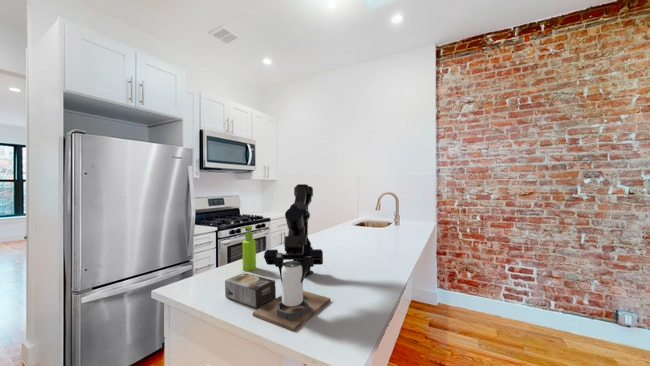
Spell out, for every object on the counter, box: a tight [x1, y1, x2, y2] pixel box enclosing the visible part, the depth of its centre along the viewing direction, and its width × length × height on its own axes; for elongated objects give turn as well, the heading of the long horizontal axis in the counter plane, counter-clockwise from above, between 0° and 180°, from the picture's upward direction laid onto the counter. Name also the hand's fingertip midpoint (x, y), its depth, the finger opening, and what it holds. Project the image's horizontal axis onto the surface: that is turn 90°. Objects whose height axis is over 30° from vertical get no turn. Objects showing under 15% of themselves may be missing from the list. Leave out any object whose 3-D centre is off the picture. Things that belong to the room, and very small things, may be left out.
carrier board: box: [252, 290, 331, 332], centre depth 82 cm, size 20×16×3 cm
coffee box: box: [224, 272, 277, 309], centre depth 90 cm, size 9×6×16 cm
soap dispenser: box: [239, 225, 257, 272], centre depth 119 cm, size 6×7×20 cm
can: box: [281, 260, 304, 307], centre depth 79 cm, size 6×6×12 cm
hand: (291, 282), depth 77 cm, fingers closed on can, 5 cm apart
